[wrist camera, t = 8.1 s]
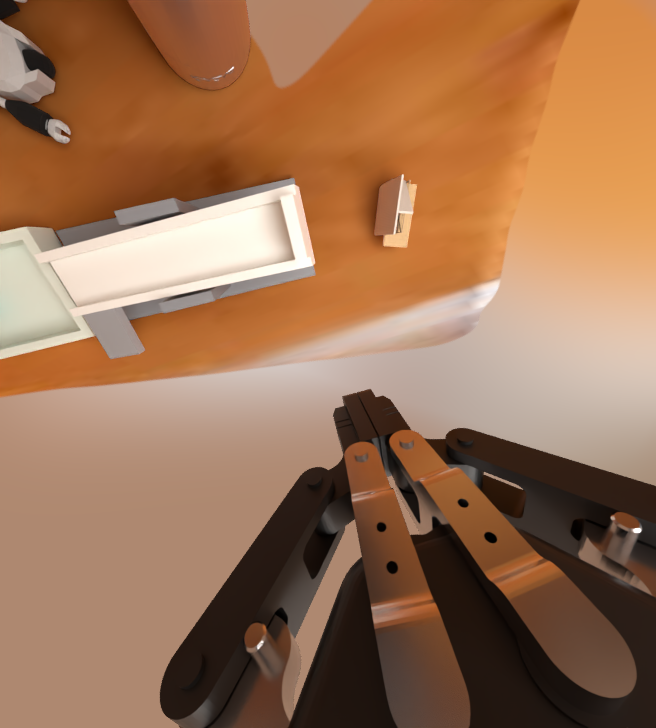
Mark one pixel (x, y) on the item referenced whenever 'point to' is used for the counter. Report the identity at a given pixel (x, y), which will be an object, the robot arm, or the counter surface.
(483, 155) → the counter surface
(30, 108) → the robot toy
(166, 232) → the trough
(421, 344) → the counter surface
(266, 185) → the stand
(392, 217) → the architectural model
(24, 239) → the tray
